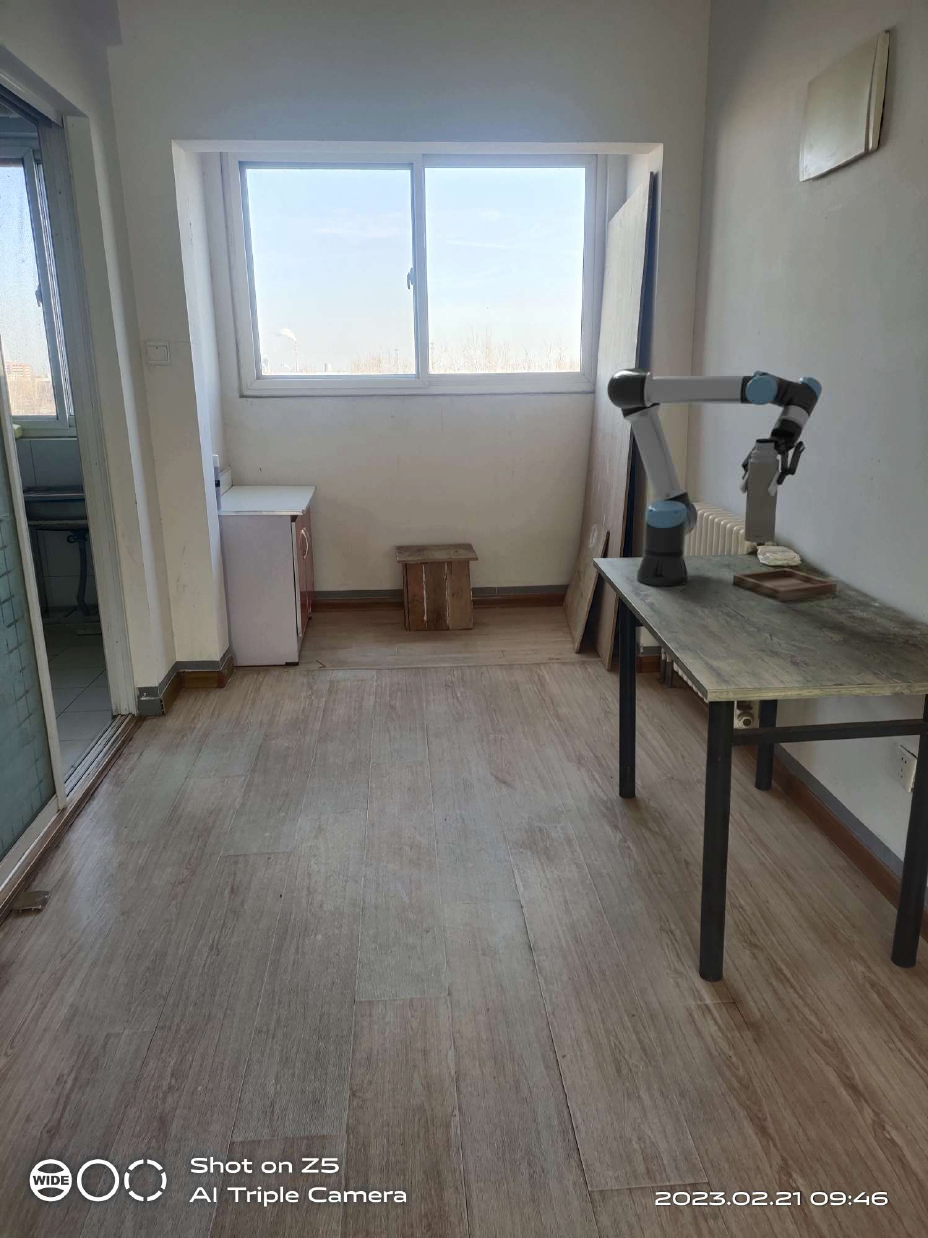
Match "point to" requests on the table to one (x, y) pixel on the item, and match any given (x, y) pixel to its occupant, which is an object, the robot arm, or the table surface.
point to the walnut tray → (784, 584)
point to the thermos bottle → (761, 493)
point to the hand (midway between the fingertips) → (756, 491)
